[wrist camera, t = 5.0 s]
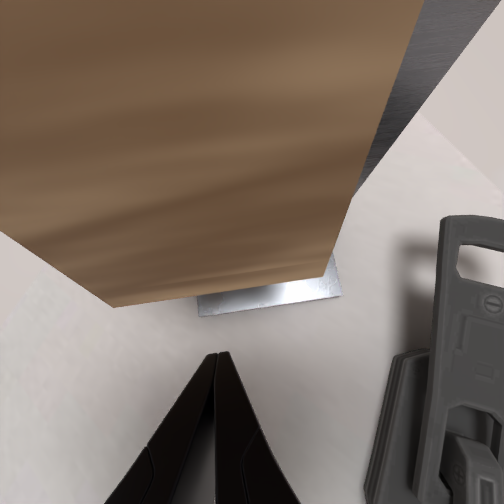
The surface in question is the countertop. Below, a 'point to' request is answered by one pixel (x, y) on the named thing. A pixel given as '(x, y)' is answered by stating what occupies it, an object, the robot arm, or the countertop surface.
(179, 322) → the countertop surface
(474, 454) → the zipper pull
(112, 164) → the cardboard box
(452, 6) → the post stand
